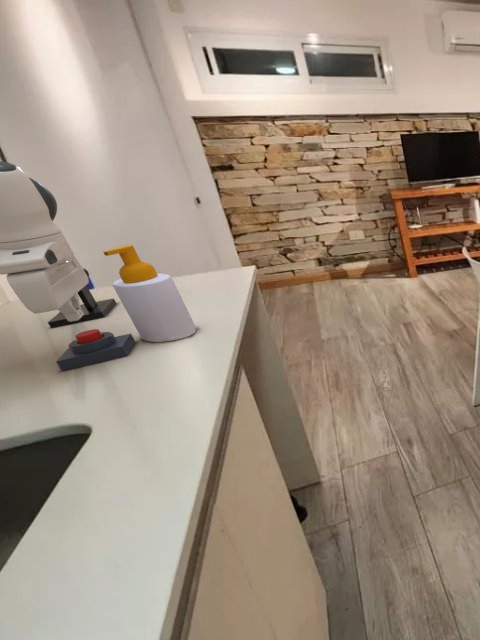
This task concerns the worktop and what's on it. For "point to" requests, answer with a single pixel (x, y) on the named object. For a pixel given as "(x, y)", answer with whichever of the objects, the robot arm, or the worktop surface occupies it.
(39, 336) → the worktop surface
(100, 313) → the black stand
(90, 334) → the button
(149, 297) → the soap bottle
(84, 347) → the button block
